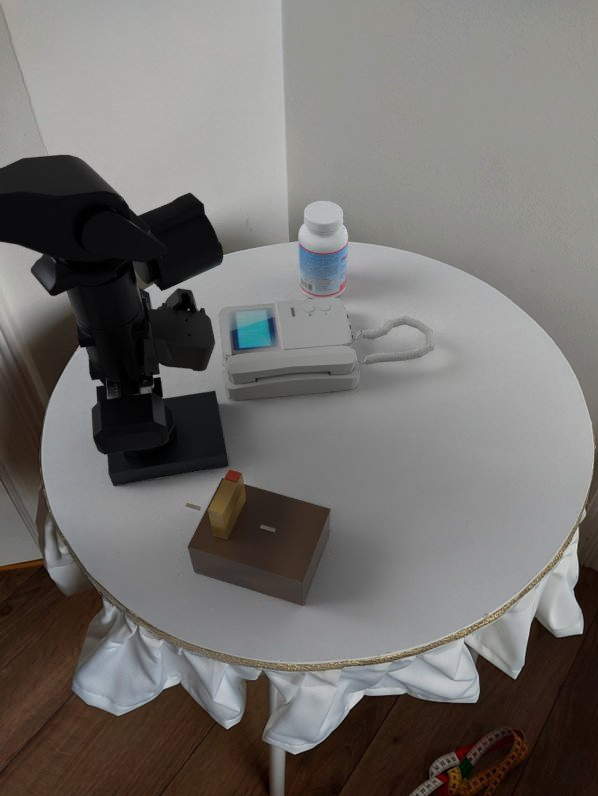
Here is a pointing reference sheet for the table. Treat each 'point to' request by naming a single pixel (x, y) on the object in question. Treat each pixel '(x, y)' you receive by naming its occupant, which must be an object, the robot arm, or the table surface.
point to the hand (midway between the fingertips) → (141, 421)
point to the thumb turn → (227, 504)
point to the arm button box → (177, 443)
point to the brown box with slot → (265, 545)
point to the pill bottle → (322, 251)
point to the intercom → (298, 348)
